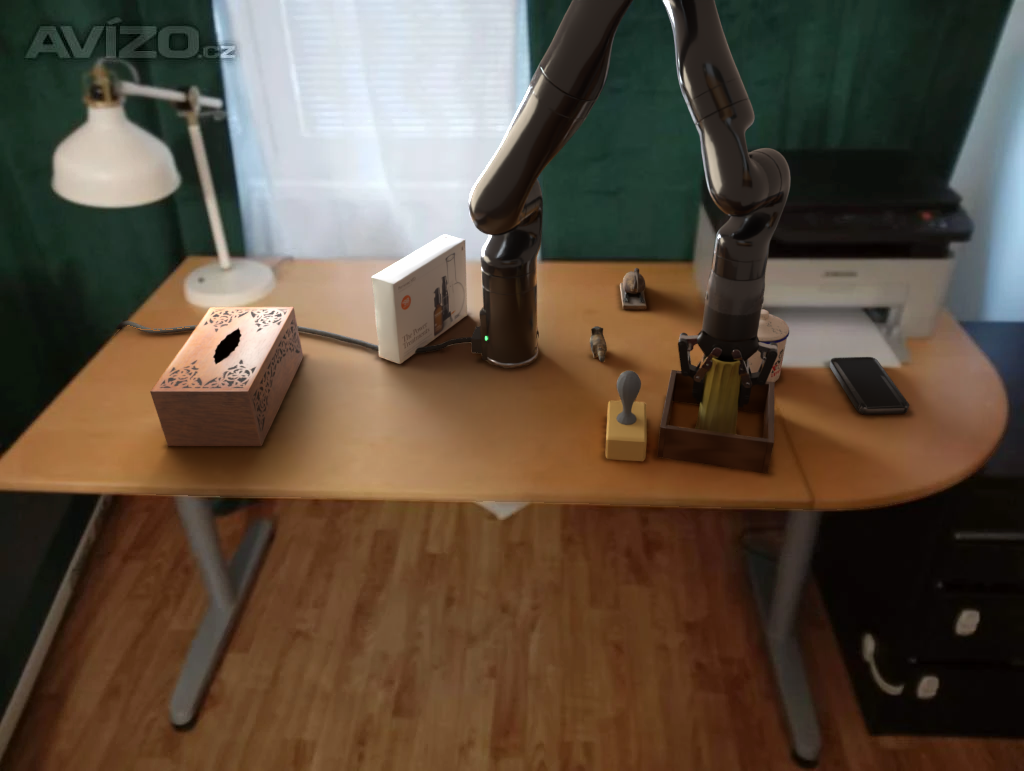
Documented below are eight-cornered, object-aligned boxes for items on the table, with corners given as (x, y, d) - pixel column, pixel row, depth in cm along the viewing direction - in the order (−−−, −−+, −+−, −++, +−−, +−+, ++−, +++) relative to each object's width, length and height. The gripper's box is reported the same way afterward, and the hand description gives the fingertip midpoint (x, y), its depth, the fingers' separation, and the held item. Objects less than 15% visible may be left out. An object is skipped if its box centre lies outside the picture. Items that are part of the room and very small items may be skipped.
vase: (741, 429, 124) (755, 348, 116) (727, 450, 120) (740, 368, 112) (703, 417, 127) (714, 337, 119) (688, 437, 123) (698, 356, 115)
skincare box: (402, 366, 142) (392, 283, 133) (378, 358, 144) (367, 276, 135) (471, 315, 156) (466, 237, 148) (447, 308, 159) (441, 231, 150)
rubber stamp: (607, 418, 127) (610, 353, 121) (644, 421, 127) (650, 355, 120) (605, 458, 119) (608, 390, 113) (645, 461, 119) (651, 393, 112)
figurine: (648, 320, 153) (651, 278, 148) (624, 320, 153) (626, 278, 149) (641, 286, 165) (644, 246, 160) (619, 286, 165) (621, 246, 160)
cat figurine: (602, 340, 146) (604, 323, 144) (609, 371, 141) (611, 354, 138) (587, 341, 146) (588, 324, 143) (593, 372, 141) (595, 355, 138)
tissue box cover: (261, 446, 124) (247, 391, 118) (167, 445, 124) (150, 391, 119) (303, 356, 145) (293, 306, 140) (223, 356, 146) (210, 307, 140)
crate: (657, 457, 119) (659, 427, 116) (668, 398, 132) (671, 369, 129) (768, 473, 116) (774, 442, 113) (769, 411, 128) (774, 381, 125)
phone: (861, 409, 126) (828, 357, 138) (859, 415, 126) (827, 363, 139) (912, 407, 126) (875, 356, 138) (910, 413, 126) (874, 362, 139)
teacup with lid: (782, 390, 133) (794, 327, 126) (724, 384, 135) (733, 322, 128) (779, 352, 142) (790, 292, 136) (725, 347, 144) (733, 288, 138)
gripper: (788, 292, 112) (770, 394, 122) (682, 282, 116) (672, 382, 125) (789, 318, 106) (769, 423, 116) (677, 307, 110) (667, 409, 119)
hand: (719, 401), depth 120 cm, fingers closed on vase, 5 cm apart
